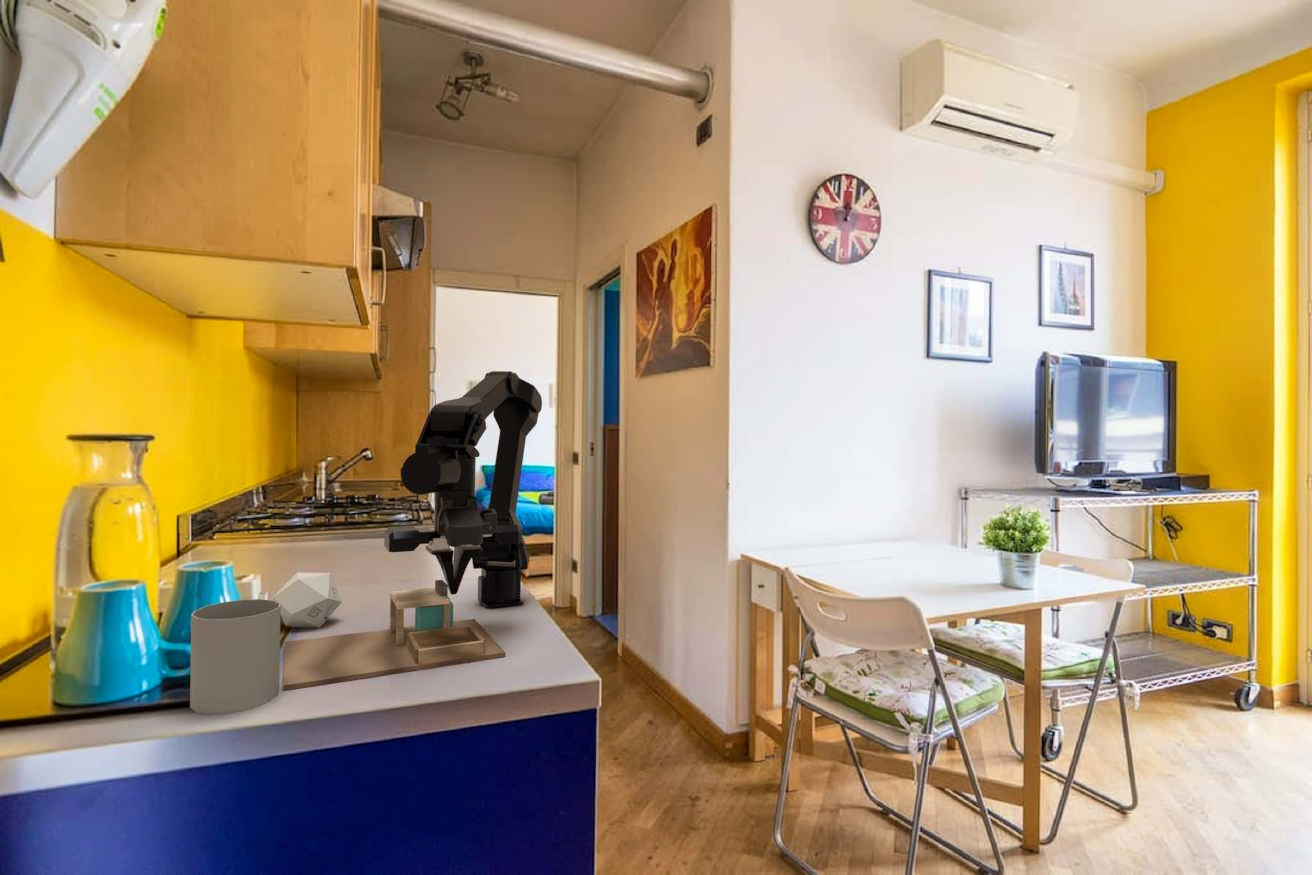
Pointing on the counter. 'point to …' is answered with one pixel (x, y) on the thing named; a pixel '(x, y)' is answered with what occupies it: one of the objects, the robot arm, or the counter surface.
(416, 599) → the bridge
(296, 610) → the die
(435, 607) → the block
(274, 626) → the cup
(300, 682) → the board
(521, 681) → the counter surface
